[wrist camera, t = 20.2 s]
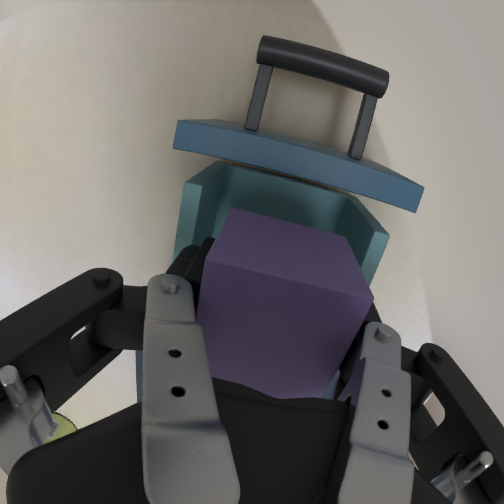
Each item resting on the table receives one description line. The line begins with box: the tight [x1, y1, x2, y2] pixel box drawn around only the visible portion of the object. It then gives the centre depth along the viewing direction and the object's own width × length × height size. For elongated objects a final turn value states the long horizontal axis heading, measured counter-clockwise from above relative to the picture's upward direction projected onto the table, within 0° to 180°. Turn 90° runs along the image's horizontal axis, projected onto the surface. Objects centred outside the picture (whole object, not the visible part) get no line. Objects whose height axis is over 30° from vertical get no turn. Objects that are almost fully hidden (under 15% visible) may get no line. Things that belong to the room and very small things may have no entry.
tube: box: [43, 413, 76, 444], centre depth 28 cm, size 6×5×20 cm
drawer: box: [173, 35, 424, 286], centre depth 16 cm, size 18×10×7 cm, turn 167°
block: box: [196, 208, 374, 399], centre depth 11 cm, size 5×5×5 cm
